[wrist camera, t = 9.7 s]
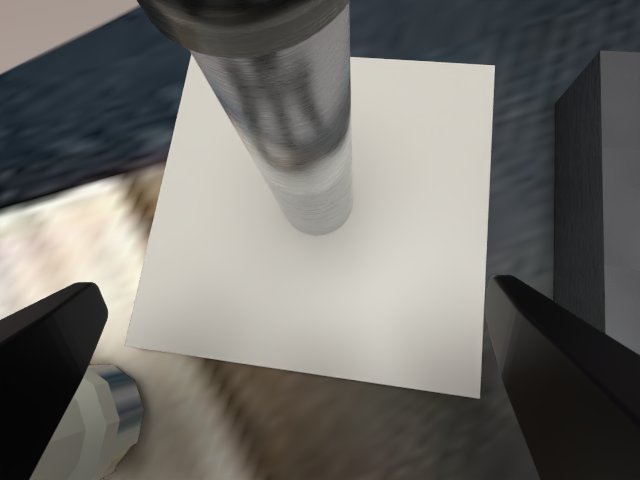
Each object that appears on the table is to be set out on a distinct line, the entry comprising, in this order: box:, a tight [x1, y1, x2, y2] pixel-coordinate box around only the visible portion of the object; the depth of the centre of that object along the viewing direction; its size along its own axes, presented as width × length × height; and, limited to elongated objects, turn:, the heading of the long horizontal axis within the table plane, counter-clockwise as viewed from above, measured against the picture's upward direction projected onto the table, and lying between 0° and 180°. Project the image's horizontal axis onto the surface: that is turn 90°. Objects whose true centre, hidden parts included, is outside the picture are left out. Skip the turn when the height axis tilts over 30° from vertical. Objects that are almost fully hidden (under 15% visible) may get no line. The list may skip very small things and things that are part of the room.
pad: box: [125, 55, 495, 399], centre depth 18 cm, size 14×14×1 cm
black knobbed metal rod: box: [137, 0, 353, 235], centre depth 11 cm, size 4×4×13 cm
